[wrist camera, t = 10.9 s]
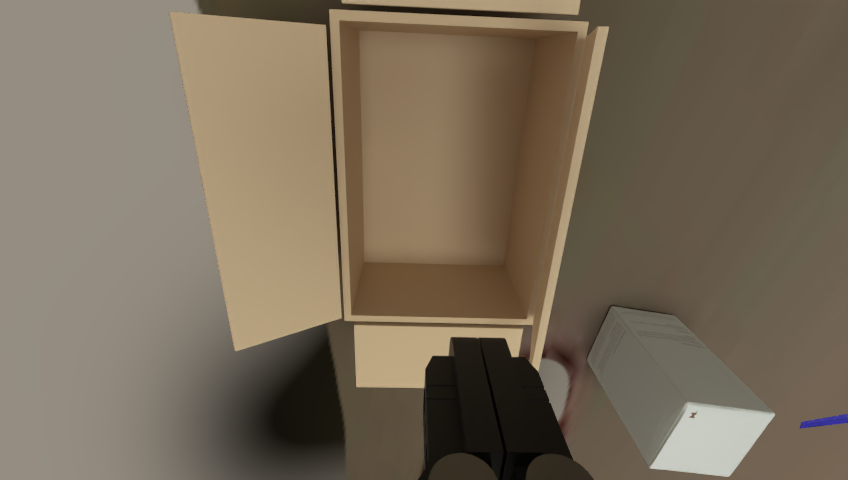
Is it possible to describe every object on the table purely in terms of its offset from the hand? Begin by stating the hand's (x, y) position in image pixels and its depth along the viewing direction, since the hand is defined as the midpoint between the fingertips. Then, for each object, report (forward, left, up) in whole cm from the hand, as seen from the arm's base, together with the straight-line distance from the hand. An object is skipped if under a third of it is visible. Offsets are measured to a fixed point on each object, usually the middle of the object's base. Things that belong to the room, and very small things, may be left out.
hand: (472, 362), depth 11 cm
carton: (-1, 0, -25) cm, 25 cm away
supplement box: (-22, +18, -25) cm, 38 cm away
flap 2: (-6, 0, -12) cm, 13 cm away
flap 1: (+10, 0, -13) cm, 16 cm away
